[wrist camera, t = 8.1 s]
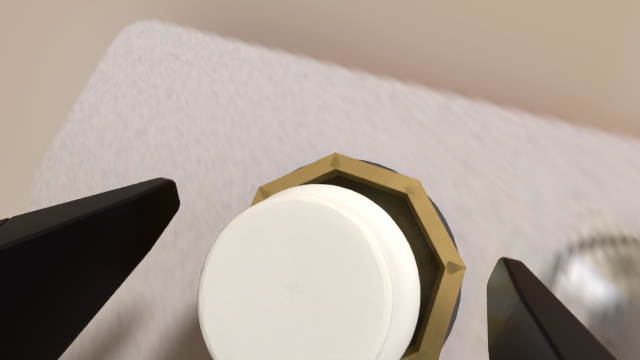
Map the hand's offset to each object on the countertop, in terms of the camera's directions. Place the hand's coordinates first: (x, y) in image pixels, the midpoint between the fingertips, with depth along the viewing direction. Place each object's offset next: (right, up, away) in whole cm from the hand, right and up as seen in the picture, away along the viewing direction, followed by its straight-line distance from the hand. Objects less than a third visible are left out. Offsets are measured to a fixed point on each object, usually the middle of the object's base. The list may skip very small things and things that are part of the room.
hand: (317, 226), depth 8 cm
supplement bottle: (+1, -3, +7) cm, 8 cm away
